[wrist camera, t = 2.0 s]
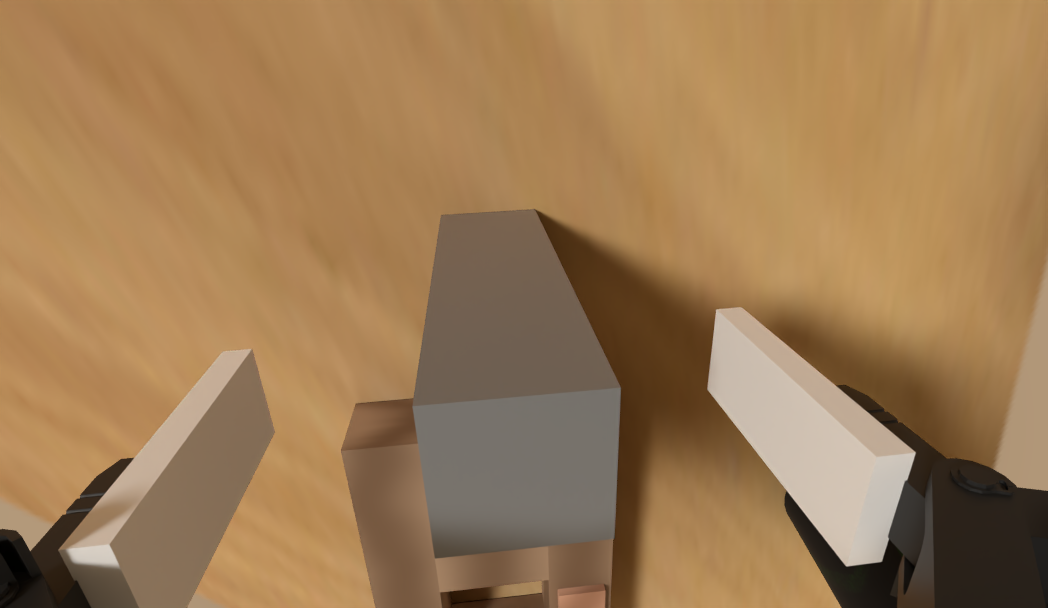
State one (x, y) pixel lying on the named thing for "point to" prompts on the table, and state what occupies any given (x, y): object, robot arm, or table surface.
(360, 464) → the socket block
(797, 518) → the cup
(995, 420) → the table surface
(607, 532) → the plug
